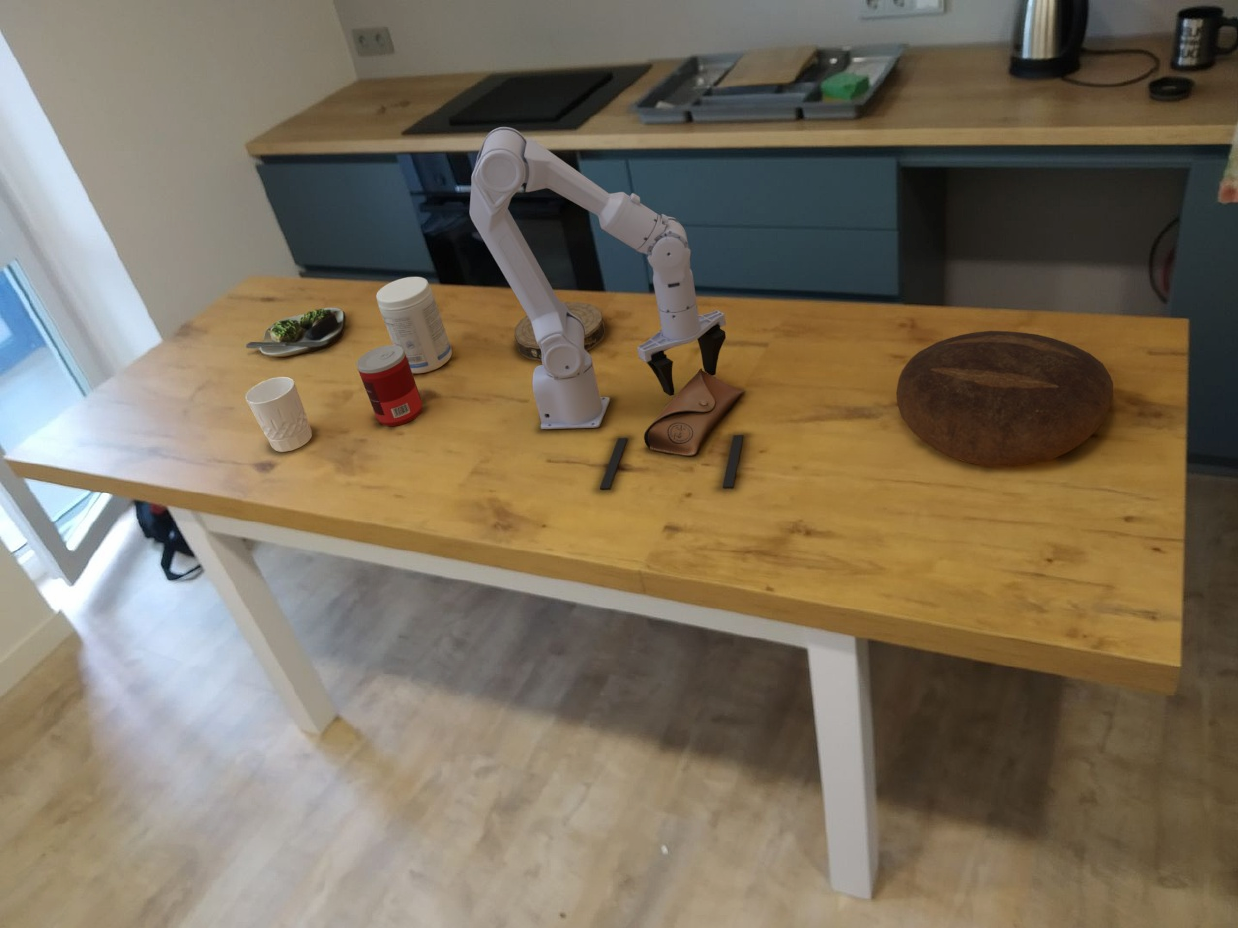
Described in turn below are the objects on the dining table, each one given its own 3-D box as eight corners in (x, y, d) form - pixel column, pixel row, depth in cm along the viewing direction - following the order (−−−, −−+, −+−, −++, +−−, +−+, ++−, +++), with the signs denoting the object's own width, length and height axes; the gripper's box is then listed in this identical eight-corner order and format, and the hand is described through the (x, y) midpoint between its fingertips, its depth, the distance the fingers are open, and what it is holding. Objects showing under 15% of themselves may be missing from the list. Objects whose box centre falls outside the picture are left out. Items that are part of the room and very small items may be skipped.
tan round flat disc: (545, 314, 185) (541, 300, 183) (620, 319, 178) (617, 304, 176) (501, 357, 174) (497, 342, 172) (579, 364, 167) (576, 349, 165)
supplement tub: (439, 343, 183) (416, 270, 175) (462, 359, 176) (439, 284, 168) (392, 364, 179) (366, 291, 171) (414, 381, 173) (388, 306, 164)
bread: (929, 347, 151) (928, 296, 146) (1125, 367, 138) (1133, 311, 133) (868, 452, 133) (866, 398, 128) (1089, 487, 119) (1096, 428, 114)
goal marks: (600, 489, 137) (599, 487, 137) (618, 439, 146) (618, 438, 146) (733, 488, 132) (732, 486, 132) (743, 436, 141) (743, 434, 141)
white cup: (273, 460, 159) (249, 409, 154) (265, 439, 165) (241, 389, 160) (320, 441, 162) (298, 390, 156) (310, 421, 168) (288, 371, 162)
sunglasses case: (697, 455, 138) (669, 418, 137) (663, 469, 143) (636, 433, 142) (748, 388, 150) (723, 353, 149) (715, 403, 155) (691, 369, 154)
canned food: (432, 402, 165) (413, 345, 159) (405, 429, 160) (384, 371, 153) (396, 399, 169) (375, 343, 162) (368, 425, 163) (346, 368, 157)
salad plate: (243, 373, 188) (233, 352, 185) (256, 331, 203) (247, 311, 200) (342, 349, 188) (334, 328, 186) (348, 310, 203) (341, 289, 200)
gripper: (701, 277, 149) (712, 355, 156) (620, 313, 144) (636, 392, 151) (729, 291, 143) (739, 371, 151) (646, 329, 138) (661, 409, 146)
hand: (689, 383), depth 151 cm, fingers open, 7 cm apart
